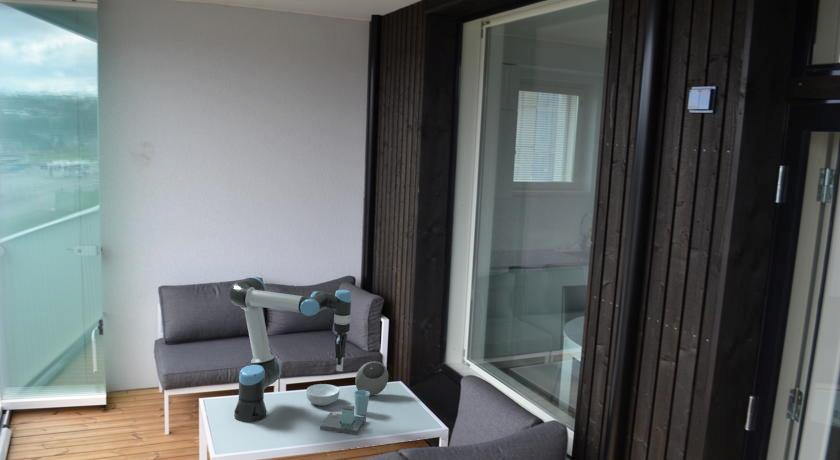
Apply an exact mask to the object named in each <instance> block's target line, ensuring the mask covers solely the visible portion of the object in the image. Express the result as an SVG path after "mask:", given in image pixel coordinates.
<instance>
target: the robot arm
mask: <svg viewBox="0 0 840 460" xmlns="http://www.w3.org/2000/svg"><path fill="white" fill-rule="evenodd" d="M227 296H228V299H229V301H230V303H231V304H233V305H235V306H237V307H240V309H242V310H244V316H245V322H246V327H247V330H248V336H249V337H248V338H249V342H250V347H251V353H252V359H251V360H250V365H246V366H244V367H242V368H241V369H240V371H239V375H238V401H237V403H236V405H235V406H236V407H235V409H234V414H233V415H234V416H233V417H234V419H236V420H237V421H240V422H245V423H246V422H249V423H252V422H253V423H254V422H258V421H259V422H260V421H262V420H264V419H265V418H266V417H267V413H268V411H267V406H266V404H265V401H264V397H265V389H266V388H268V387H270V386H271V385H272V384H274V383H276V382H277V381H278V380H279V378H280V376H281V374H282V373H281V372H282V367H281V365H280V363H279V362H278V361H277V359H276V357H275V355H274V354H272V353H271V348H270V343H269V342H270V341H269V338H268V337H269V336H268V333H267V326H266V323H265V316H264V310H263V308H267V309H273V310H280V311H281V310H282V311H285V312H286V311H288V312H293V313H301V314H303V315H304V316H307V317H311V316H315V315H316V314H318V313H319V312H321V311H323V310H324V309H325V310H326V309H327V310H334V315H333V322H334V323H333V331H334V332H336V336H335V338H336V339H335V340H334V345H335V350H334V351H335V359H336V369H335V370H336V372H342V371H343V370H344V358H345V357H346V346H347V338H348V332H350V330H351V329H350V328H351V323H350V322H351V319H352V317H351V311H352V310H351V309H352V292H351V291H349V290H347V289H336V291H335V293H332V292H324V291H313V292H312V293H311V295H310V296H302V295H298V294H297V295H296V294H288V293H282V292H281V293H280V292H274V291H267V286H266V284H265V282H264V281H263V280H262V279H260V278H259V277H255V276H251V277H246V278H244V279H241V280H239V281H236V282H234V283H232V285H231V286H230V287H229V288H228V293H227Z"/></svg>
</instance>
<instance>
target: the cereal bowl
mask: <svg viewBox="0 0 840 460" xmlns="http://www.w3.org/2000/svg"><path fill="white" fill-rule="evenodd" d="M305 391H306V392H305V393H306V394H305V395H306V399H307V400H308V401H309V402H310V403H312V404H314V405H317V406H320V407H323V406H324V407H326V406H329V405H330V404H333V403H335V402H336V401H337V400H338V398H339V396H340V388H339V387H338V386H337V385H333V384H327V383H325V384H324V383H323V384H322V383H319V384H313V385H310V386H308V387H307V388H306V390H305Z"/></svg>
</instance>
